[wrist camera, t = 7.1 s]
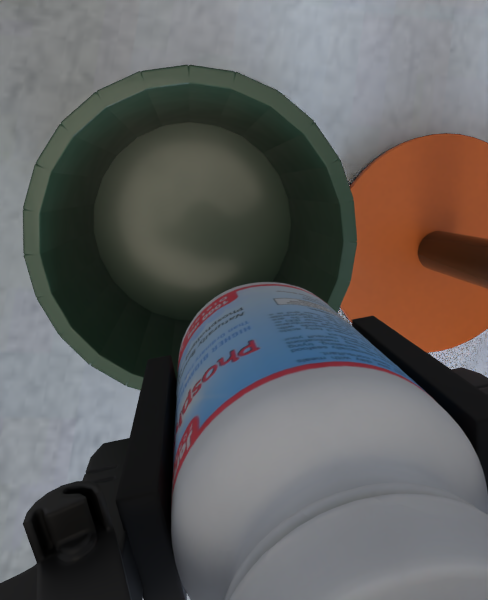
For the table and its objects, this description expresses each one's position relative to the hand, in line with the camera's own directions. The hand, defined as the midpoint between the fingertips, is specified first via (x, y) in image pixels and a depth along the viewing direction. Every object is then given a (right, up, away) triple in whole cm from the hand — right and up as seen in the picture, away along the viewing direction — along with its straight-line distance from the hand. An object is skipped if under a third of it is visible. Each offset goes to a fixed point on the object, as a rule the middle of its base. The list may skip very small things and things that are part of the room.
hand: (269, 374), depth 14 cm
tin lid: (+15, +7, +21) cm, 27 cm away
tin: (-5, +8, +19) cm, 21 cm away
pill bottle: (0, 0, +2) cm, 2 cm away
